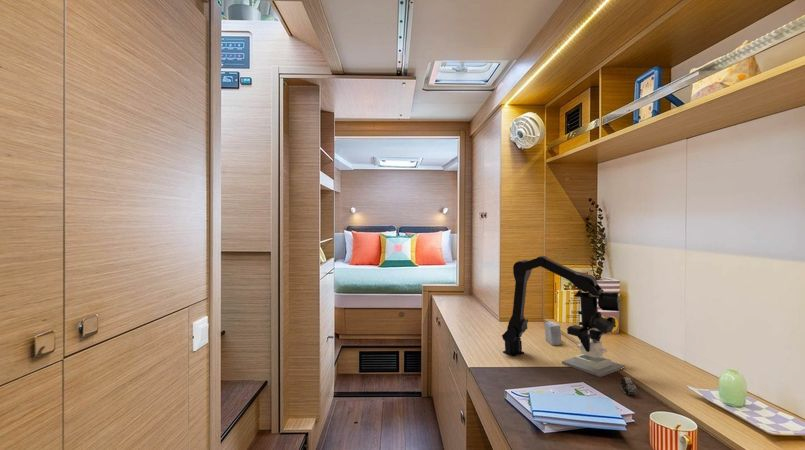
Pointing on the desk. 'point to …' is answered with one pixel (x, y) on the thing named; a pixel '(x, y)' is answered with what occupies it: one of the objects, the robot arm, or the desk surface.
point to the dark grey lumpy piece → (631, 387)
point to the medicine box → (553, 333)
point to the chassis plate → (593, 365)
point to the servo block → (593, 349)
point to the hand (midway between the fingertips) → (591, 350)
